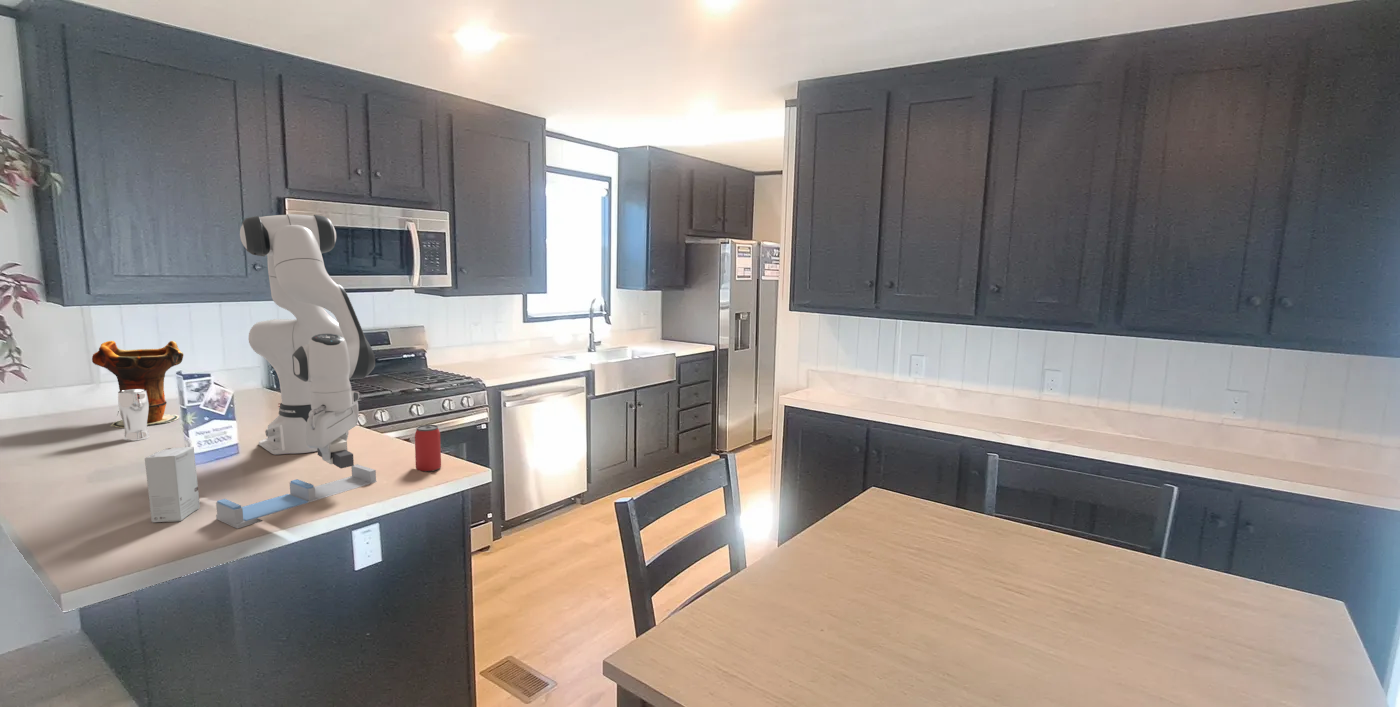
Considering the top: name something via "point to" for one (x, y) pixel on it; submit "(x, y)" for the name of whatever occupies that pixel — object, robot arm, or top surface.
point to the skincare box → (172, 484)
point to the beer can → (427, 448)
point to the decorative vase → (141, 374)
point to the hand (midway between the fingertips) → (334, 454)
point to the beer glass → (134, 413)
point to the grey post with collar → (339, 454)
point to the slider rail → (291, 498)
